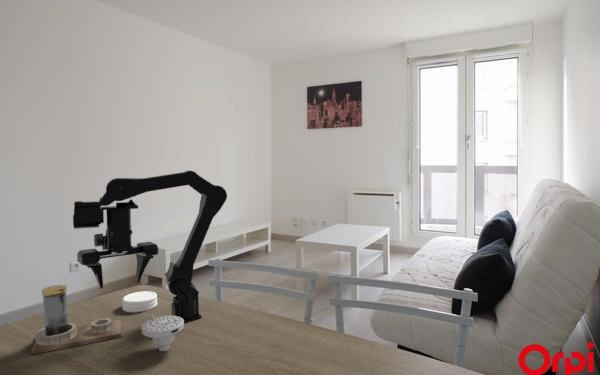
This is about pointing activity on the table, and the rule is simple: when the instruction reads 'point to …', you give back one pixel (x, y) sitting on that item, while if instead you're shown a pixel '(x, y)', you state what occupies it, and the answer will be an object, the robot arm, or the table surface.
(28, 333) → the table surface
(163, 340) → the showerhead
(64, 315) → the grey lidded canister
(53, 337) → the fitting board
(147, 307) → the white plate stack
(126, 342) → the table surface
